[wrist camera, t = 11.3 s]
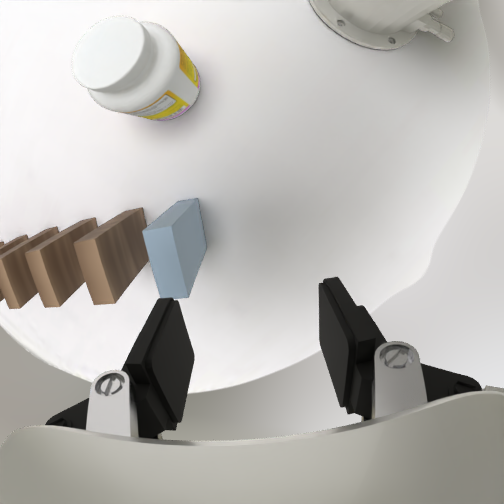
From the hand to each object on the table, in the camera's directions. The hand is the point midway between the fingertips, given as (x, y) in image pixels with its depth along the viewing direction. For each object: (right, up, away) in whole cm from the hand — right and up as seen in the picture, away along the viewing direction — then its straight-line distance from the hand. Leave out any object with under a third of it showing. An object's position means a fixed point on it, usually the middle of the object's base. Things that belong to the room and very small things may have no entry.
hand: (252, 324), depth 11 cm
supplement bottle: (-8, +18, +12) cm, 23 cm away
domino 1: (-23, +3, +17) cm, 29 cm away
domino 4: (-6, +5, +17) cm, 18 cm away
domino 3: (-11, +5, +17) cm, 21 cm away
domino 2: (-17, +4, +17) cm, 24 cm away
